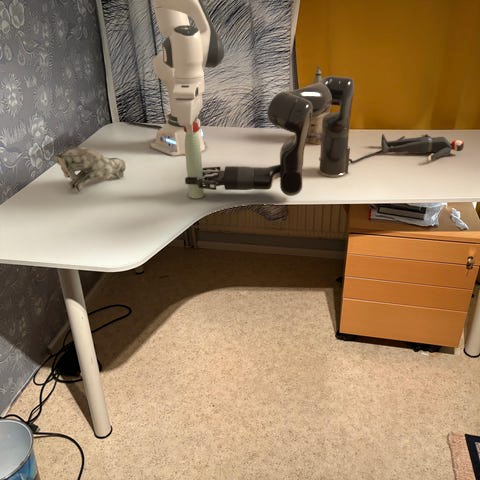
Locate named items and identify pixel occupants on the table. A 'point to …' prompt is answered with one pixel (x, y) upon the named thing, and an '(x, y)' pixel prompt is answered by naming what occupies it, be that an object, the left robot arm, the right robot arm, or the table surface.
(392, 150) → the toy
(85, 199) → the table surface
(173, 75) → the left robot arm
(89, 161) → the figurine
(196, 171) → the bottle
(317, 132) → the miniature building
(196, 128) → the cap
